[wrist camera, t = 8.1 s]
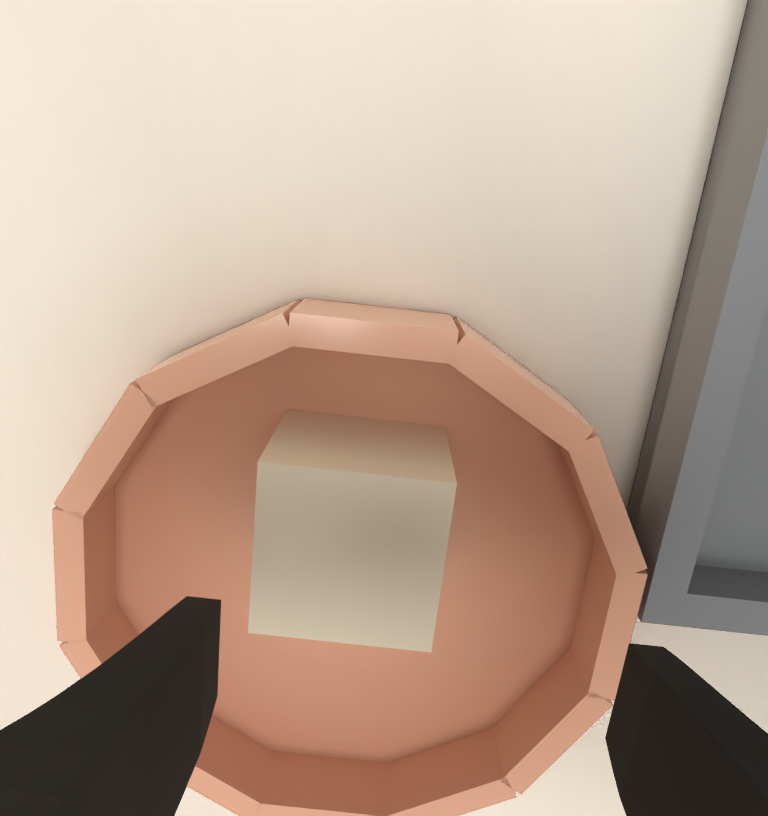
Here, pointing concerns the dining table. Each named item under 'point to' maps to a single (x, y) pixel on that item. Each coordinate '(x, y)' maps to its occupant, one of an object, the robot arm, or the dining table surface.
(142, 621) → the bowl
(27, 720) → the robot arm
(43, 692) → the dining table surface
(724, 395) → the parts tray
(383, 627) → the cream matte cube
